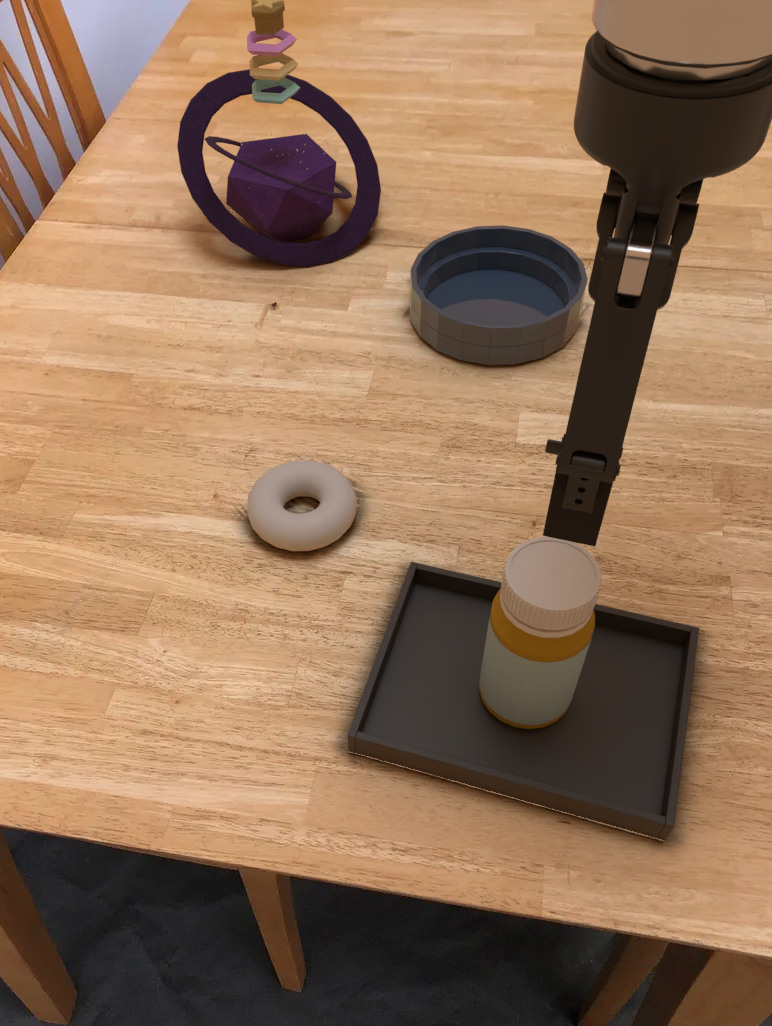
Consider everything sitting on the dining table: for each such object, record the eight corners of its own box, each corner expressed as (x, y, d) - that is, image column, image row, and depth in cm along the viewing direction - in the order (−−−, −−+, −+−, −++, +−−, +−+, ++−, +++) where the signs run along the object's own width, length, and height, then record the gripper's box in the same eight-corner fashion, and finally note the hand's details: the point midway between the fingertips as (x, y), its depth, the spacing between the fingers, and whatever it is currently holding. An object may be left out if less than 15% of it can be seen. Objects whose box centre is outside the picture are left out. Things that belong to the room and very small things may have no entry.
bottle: (483, 649, 74) (502, 525, 62) (572, 662, 73) (610, 538, 61) (473, 725, 70) (492, 608, 58) (568, 739, 69) (607, 623, 57)
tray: (689, 647, 74) (699, 627, 72) (664, 843, 64) (674, 827, 62) (410, 581, 79) (411, 561, 77) (348, 753, 70) (347, 735, 68)
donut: (238, 554, 82) (348, 564, 81) (232, 528, 80) (346, 538, 78) (262, 474, 88) (365, 482, 87) (257, 448, 86) (364, 455, 84)
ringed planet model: (225, 299, 105) (189, 66, 85) (174, 209, 117) (132, -14, 97) (405, 250, 109) (410, 16, 89) (338, 167, 121) (330, -55, 101)
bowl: (591, 278, 104) (599, 238, 100) (561, 381, 94) (569, 340, 90) (434, 255, 108) (436, 215, 104) (389, 351, 98) (390, 311, 94)
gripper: (632, -89, 42) (563, 304, 59) (523, 199, 29) (473, 603, 46) (807, -81, 41) (684, 322, 58) (779, 231, 27) (628, 639, 44)
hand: (590, 447), depth 52 cm, fingers open, 13 cm apart
